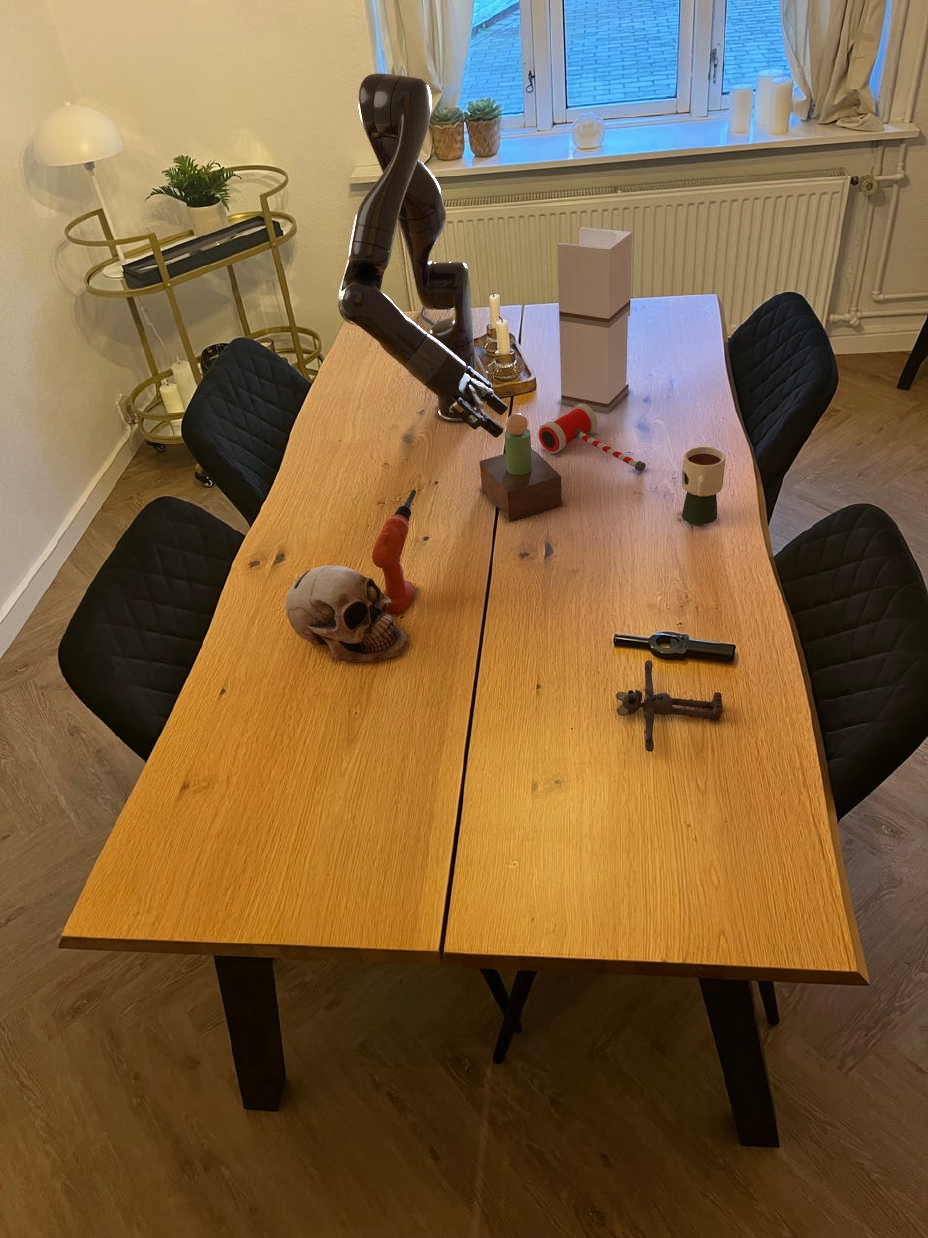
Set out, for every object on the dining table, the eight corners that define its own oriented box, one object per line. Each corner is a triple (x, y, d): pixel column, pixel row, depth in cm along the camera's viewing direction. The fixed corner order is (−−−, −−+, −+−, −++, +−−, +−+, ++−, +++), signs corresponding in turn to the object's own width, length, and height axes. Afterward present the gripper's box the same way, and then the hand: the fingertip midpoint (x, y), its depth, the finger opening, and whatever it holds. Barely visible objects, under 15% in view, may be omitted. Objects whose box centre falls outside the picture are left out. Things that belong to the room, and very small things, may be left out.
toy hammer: (661, 459, 185) (662, 431, 181) (624, 484, 179) (624, 455, 175) (574, 426, 198) (574, 399, 194) (537, 448, 193) (536, 420, 189)
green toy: (502, 466, 176) (498, 412, 169) (525, 459, 177) (522, 405, 170) (513, 477, 172) (509, 423, 165) (536, 470, 173) (533, 416, 166)
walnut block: (482, 489, 182) (479, 460, 178) (532, 474, 185) (530, 445, 181) (509, 521, 173) (507, 492, 169) (561, 505, 175) (561, 475, 171)
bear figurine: (727, 747, 122) (617, 734, 124) (721, 768, 125) (613, 756, 126) (718, 655, 136) (619, 645, 137) (713, 676, 138) (616, 666, 140)
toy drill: (437, 543, 167) (425, 478, 156) (405, 618, 155) (389, 553, 144) (412, 541, 168) (398, 475, 157) (378, 615, 156) (360, 550, 145)
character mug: (682, 500, 173) (686, 439, 165) (721, 503, 171) (727, 441, 163) (676, 533, 165) (680, 470, 157) (717, 537, 163) (723, 473, 155)
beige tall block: (628, 391, 208) (632, 231, 186) (607, 412, 202) (609, 249, 179) (582, 383, 214) (581, 226, 191) (561, 403, 207) (557, 243, 185)
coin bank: (411, 653, 146) (390, 587, 138) (306, 686, 145) (278, 622, 137) (394, 598, 159) (374, 534, 150) (298, 628, 158) (272, 566, 149)
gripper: (441, 368, 156) (513, 428, 161) (453, 333, 167) (519, 390, 172) (414, 398, 160) (485, 455, 166) (427, 362, 171) (493, 417, 176)
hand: (502, 422), depth 169 cm, fingers open, 8 cm apart
